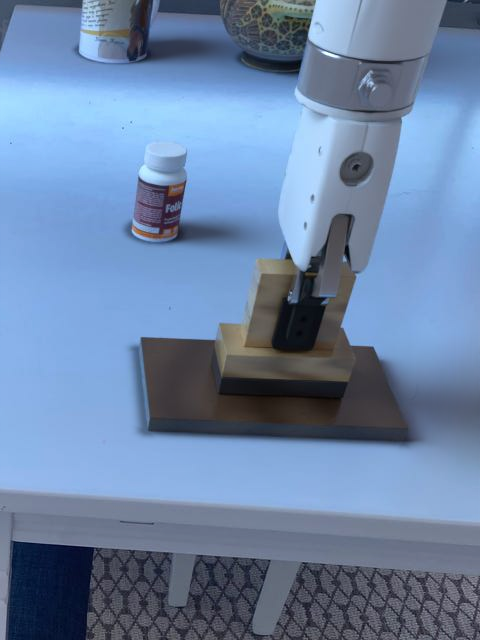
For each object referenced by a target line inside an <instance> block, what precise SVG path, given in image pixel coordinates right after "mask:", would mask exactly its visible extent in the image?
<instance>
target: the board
mask: <svg viewBox="0 0 480 640" xmlns="http://www.w3.org/2000/svg"><path fill="white" fill-rule="evenodd" d="M215 340H216V339H203V338H202V339H201V338H179V337H177V338H176V337H152V336H151V337H150V336H141V337H140V339H139V345H138V356H139V363H140V374H141V383H142V391H143V402H144V411H145V421H146V428H147V431H148V432H163V433H164V432H165V433H185V434H187V433H189V434H209V435H210V434H212V435H213V434H214V435H236V436H237V435H238V436H239V435H240V436H259V437H260V436H261V437H281V438H282V437H283V438H284V437H285V438H310V439H334V440H353V441H354V440H356V441H358V440H359V441H381V442H404V441H405V438H406V436H407V433H408V432H409V427H408V424H407V422H406V420H405V416H404V414H403V412H402V410H401V408H400V405H399V402H398V401H397V400H398V399H397V398H396V396H395V394H394V391H393V389H392V387H391V384H390V381H389V380H388V378H387V375H386V372H385V370H384V367H383V365H382V363H381V360H380V358H379V356H378V353H377V351H376V349H375V347H374V346H370V345H351V344H350V346H351V348H352V351H353V353H354V356H355V358H356V361H355V364H354V367H353V370H352V373H351V376H350V379H349V382H348V385H347V388H346V391H345V393H344V396H343V398H325V397H299V396H273V395H247V394H221V393H218V391H217V386H216V382H215V377H214V372H213V367H212V362H211V360H212V355H213V350H214V346H215Z"/></svg>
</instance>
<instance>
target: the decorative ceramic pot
mask: <svg viewBox="0 0 480 640" xmlns="http://www.w3.org/2000/svg"><path fill="white" fill-rule="evenodd" d="M315 3H316V0H219V11H220V12H219V13H220V17H221V20H222V24H223V26H224V28H225V31H226V32H227V34H228V35H229V37H230V39H231V40H232V41H233V42H234V43H235V44H236V45H237V46H238V47H239V48H240V49H241V50H242V51H243V52H242V56H241V61H242V62H243V63H244V64H245V65H246V66H249V67H251V68H254V69H257V70H261V71H266V72H271V73H272V72H273V73H293V72H300V67H301V63H302V59H303V54H304V50H305V46H306V41H307V37H308V33H309V29H310V25H311V20H312V16H313V12H314V7H315Z"/></svg>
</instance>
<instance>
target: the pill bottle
mask: <svg viewBox="0 0 480 640" xmlns="http://www.w3.org/2000/svg"><path fill="white" fill-rule="evenodd" d="M187 157H188V149H187V148H186V146H184V145H182V144H181V143H177V142H175V141H165V140H159V141H153V142H150V143H148V144H147V146H146V147H145V151H144V157H143V163H144V164H143V165H142V166H141V167H140V169H139V171H138V177H137V183H136V184H137V186H136V194H135V200H134V210H133V216H132V224H131V225H132V226H131V232H132V234H133V236H135V237H136V238H138V239H140V240H142V241H146V242H153V243H165V242H170V241H172V240H174V239H176V237H177V236H178V231H179V226H180V220H181V215H182V209H183V203H184V196H185V190H186V184H187V181H188V173H187V171H186V168H185V167H186V163H187Z"/></svg>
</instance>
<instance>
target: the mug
mask: <svg viewBox="0 0 480 640" xmlns="http://www.w3.org/2000/svg"><path fill="white" fill-rule="evenodd" d="M160 3H161V0H82V5H81V18H80V32H79V44H78V45H79V46H78V52H79V54H80V55H81V56H82V57H84V58H86V59H88V60H92V61H94V62H101V63H107V64H128V63H135V62H138V61H141V60H143V59H145V58H146V57H147V54H148V49H149V48H148V47H149V39H150V31H151V28H152V26H153V24H154V23H155V20H156V17H157V15H158V11H159V9H160V8H159V7H160Z"/></svg>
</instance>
